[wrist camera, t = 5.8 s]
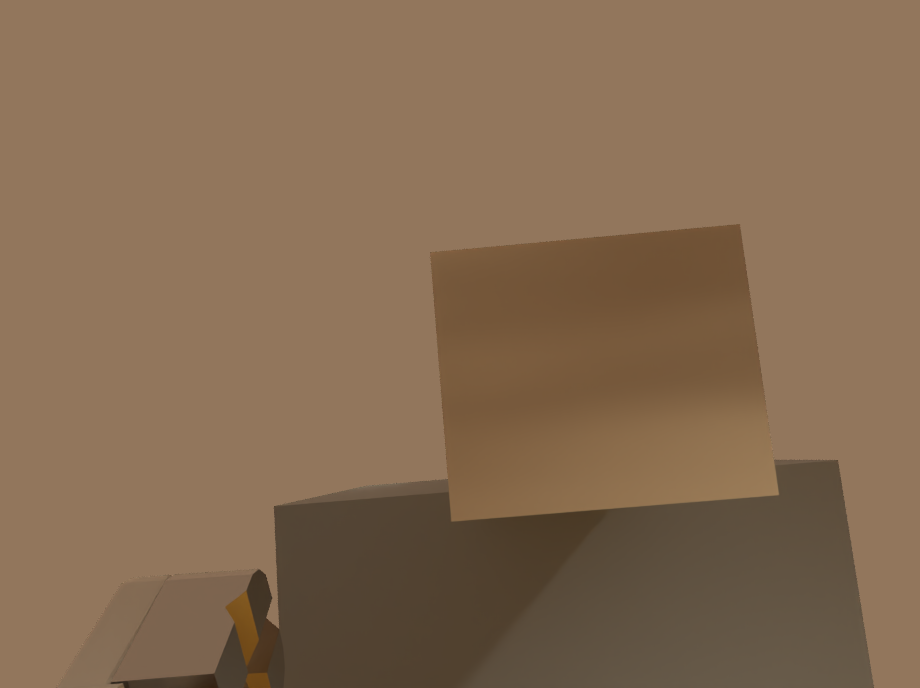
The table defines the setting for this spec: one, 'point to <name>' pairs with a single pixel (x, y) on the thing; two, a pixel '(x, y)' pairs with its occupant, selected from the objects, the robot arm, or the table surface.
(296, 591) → the pedestal
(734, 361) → the beech bar
